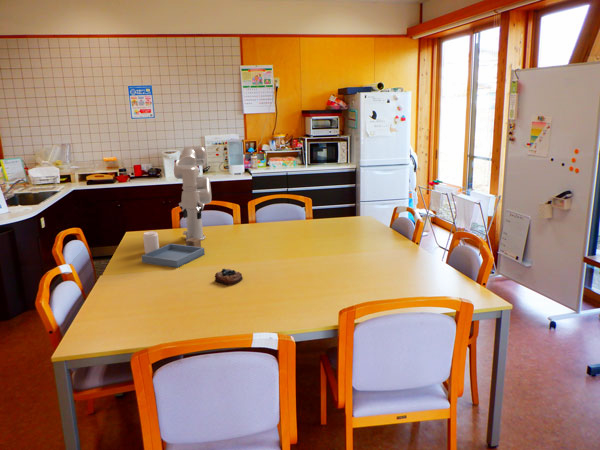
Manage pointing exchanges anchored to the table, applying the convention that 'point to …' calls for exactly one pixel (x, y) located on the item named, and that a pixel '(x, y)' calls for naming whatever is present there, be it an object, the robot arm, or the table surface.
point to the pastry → (228, 277)
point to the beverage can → (150, 241)
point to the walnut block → (193, 242)
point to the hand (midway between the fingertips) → (192, 218)
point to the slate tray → (173, 255)
